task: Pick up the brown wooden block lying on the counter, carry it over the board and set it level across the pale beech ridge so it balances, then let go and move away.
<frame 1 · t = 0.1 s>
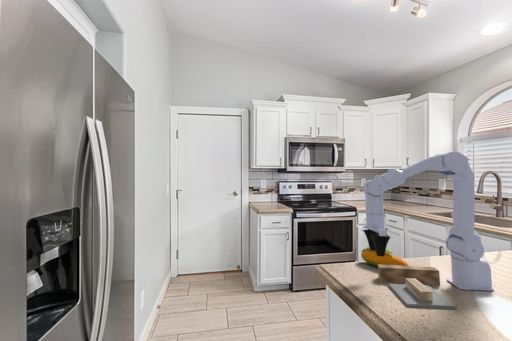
hand: (376, 252, 87), 10 cm above the countertop, tool pointing down, fingers open, 7 cm apart
board: (418, 296, 75), on the countertop
brown wooden block: (407, 282, 87), on the countertop
corn: (384, 268, 101), on the countertop
ridge: (418, 296, 75), resting on board
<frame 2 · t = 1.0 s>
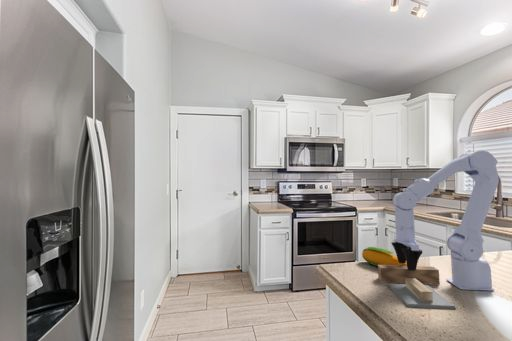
hand: (406, 266, 87), 5 cm above the countertop, tool pointing down, fingers open, 7 cm apart
nothing on the countertop moved.
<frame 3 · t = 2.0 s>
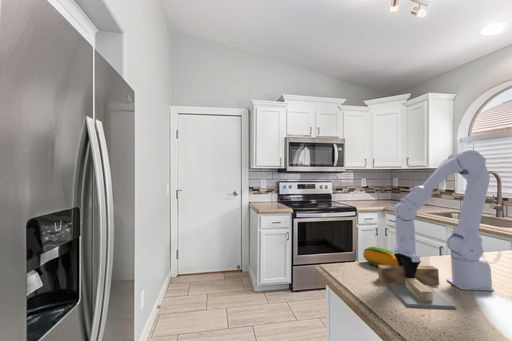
hand: (407, 277, 87), 1 cm above the countertop, tool pointing down, fingers closed on brown wooden block, 4 cm apart
brown wooden block: (407, 281, 86), on the countertop, touching gripper
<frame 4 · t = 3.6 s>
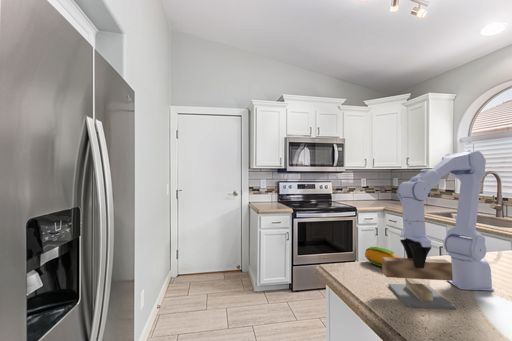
hand: (416, 265, 76), 9 cm above the countertop, tool pointing down, fingers closed on brown wooden block, 3 cm apart
brown wooden block: (416, 276, 76), point 6 cm above the countertop, touching gripper
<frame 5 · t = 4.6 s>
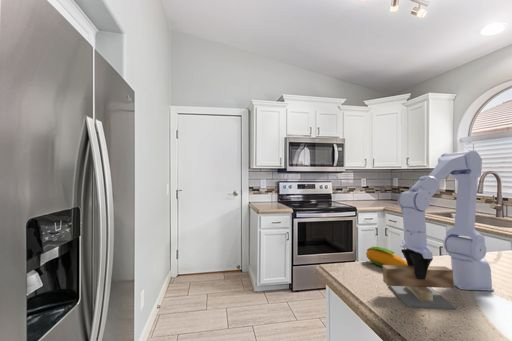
hand: (417, 276, 75), 6 cm above the countertop, tool pointing down, fingers closed on brown wooden block, 3 cm apart
brown wooden block: (417, 284, 75), point 3 cm above the countertop, touching gripper, ridge
when the fingers open (6 cm above the countertop, at t = 5.0 s): brown wooden block stays where it is, resting on ridge.
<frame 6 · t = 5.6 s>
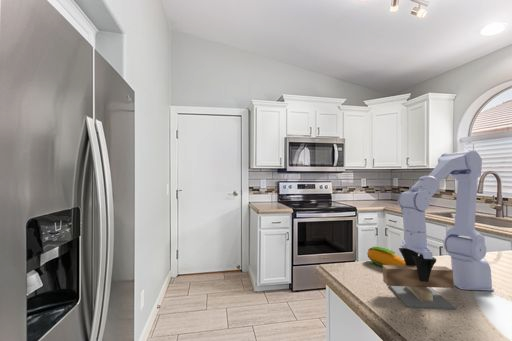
hand: (417, 276, 75), 6 cm above the countertop, tool pointing down, fingers open, 7 cm apart
brown wooden block: (417, 284, 75), point 3 cm above the countertop, touching ridge
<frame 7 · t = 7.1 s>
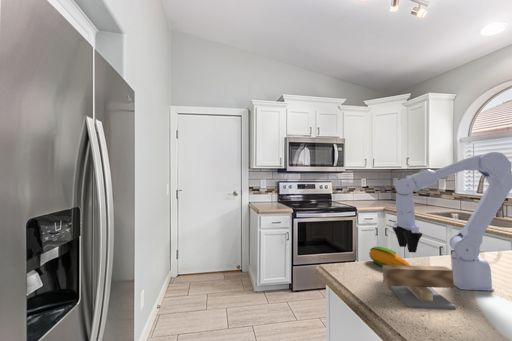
hand: (407, 249, 91), 10 cm above the countertop, tool pointing down, fingers open, 7 cm apart
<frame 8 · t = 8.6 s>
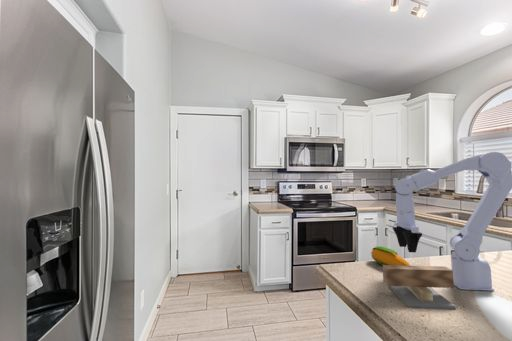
hand: (407, 249, 91), 10 cm above the countertop, tool pointing down, fingers open, 7 cm apart
at the end: brown wooden block 0.2 cm off-centre on the ridge, point 3.5 cm above the ridge's base; brown wooden block tilted 0°; brown wooden block touching ridge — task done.
